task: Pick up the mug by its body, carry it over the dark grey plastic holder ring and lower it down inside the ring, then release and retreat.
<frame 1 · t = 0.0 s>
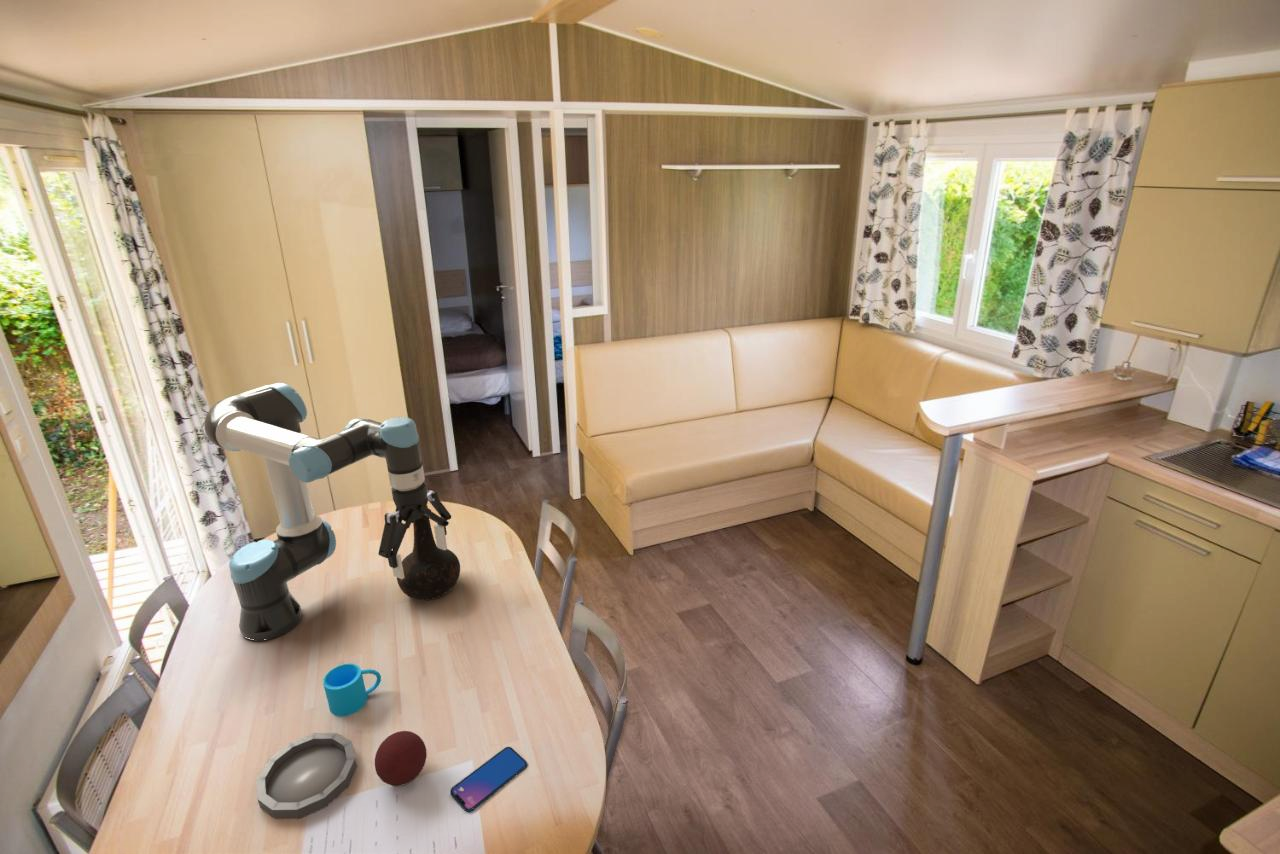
hand: (421, 562, 156), 28 cm above the table, fingers open, 13 cm apart
mug: (357, 700, 153), on the table
decorative ball: (404, 776, 134), on the table
smartphone: (490, 780, 133), on the table
glass bottle: (432, 590, 192), on the table
holder ring: (309, 777, 134), on the table
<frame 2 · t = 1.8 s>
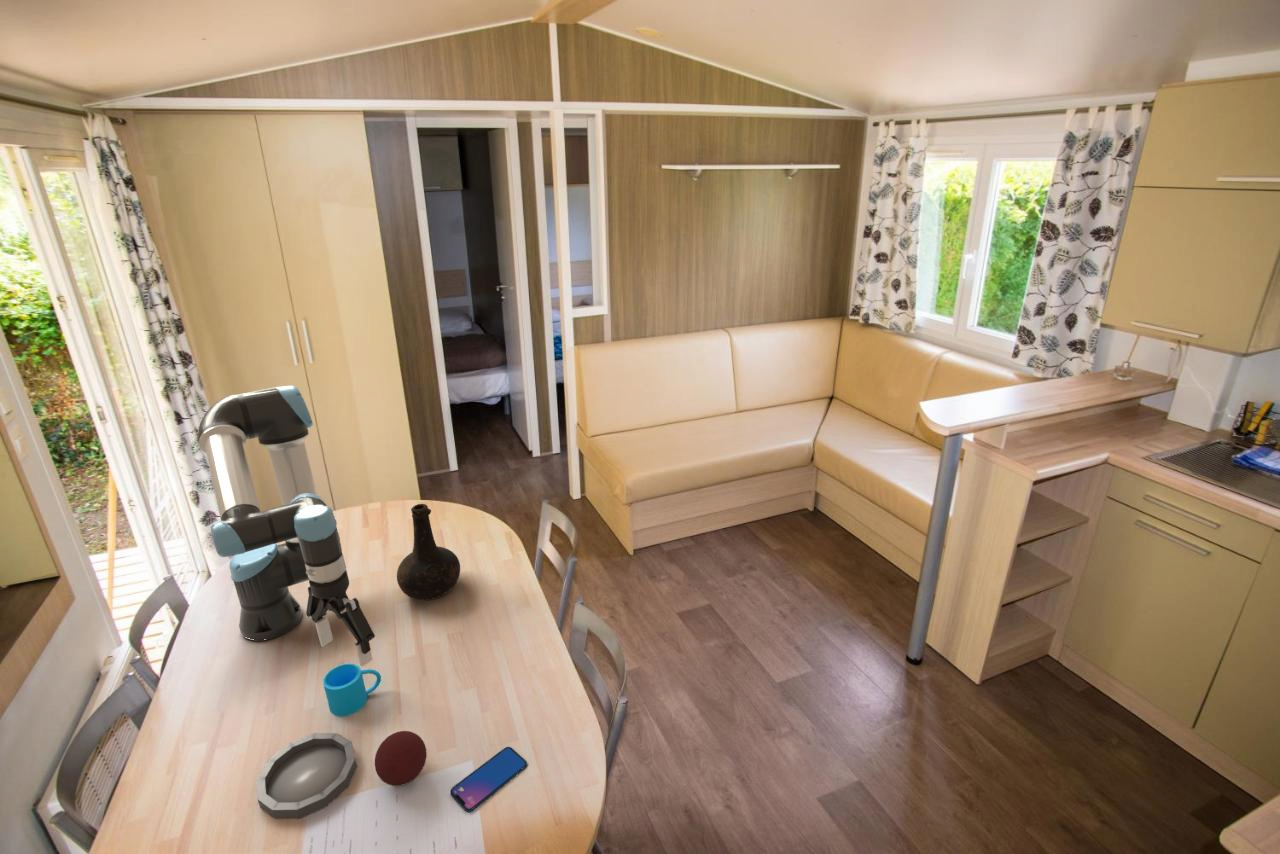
hand: (346, 652, 147), 14 cm above the table, fingers open, 13 cm apart
nothing on the table moved.
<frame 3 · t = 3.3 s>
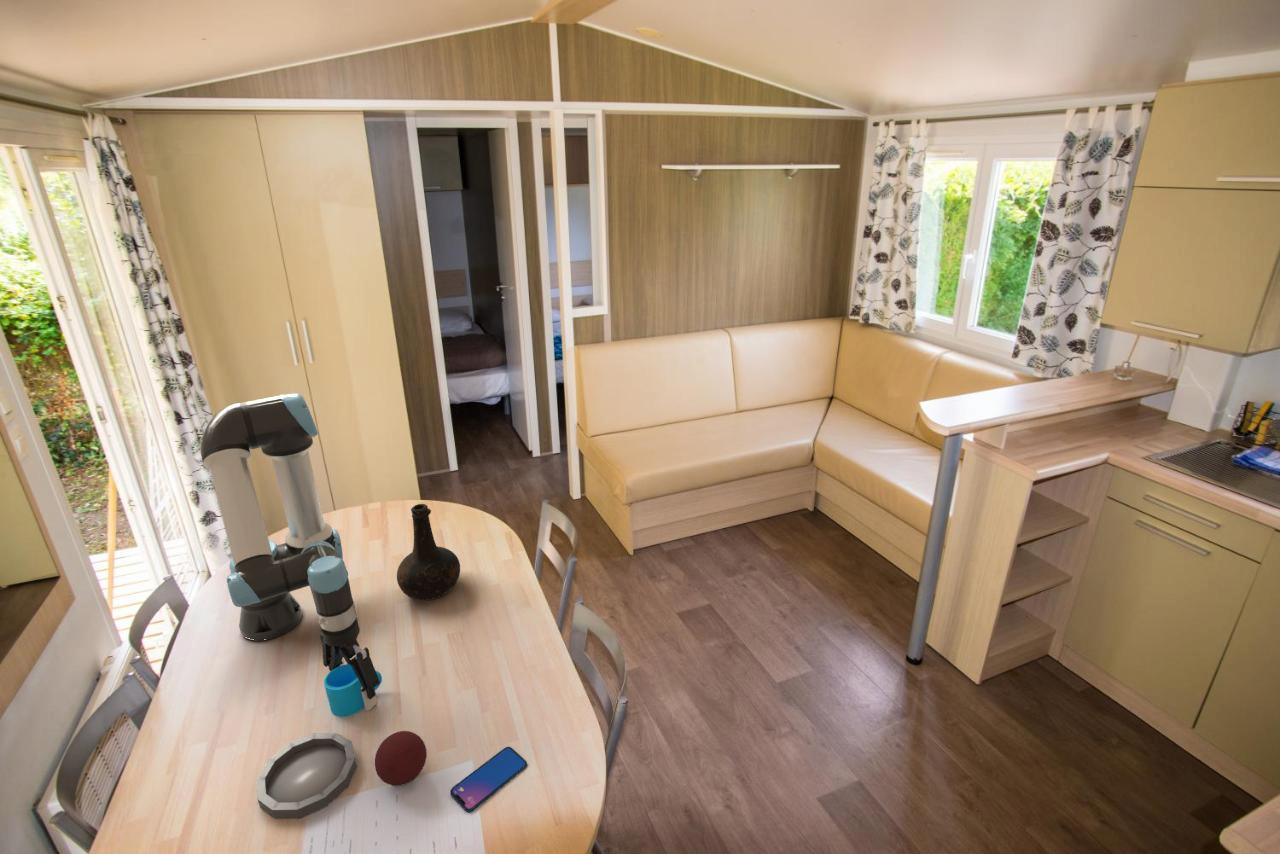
hand: (357, 698, 153), 0 cm above the table, fingers open, 9 cm apart
mug: (358, 700, 153), on the table, touching gripper
everything else where it was.
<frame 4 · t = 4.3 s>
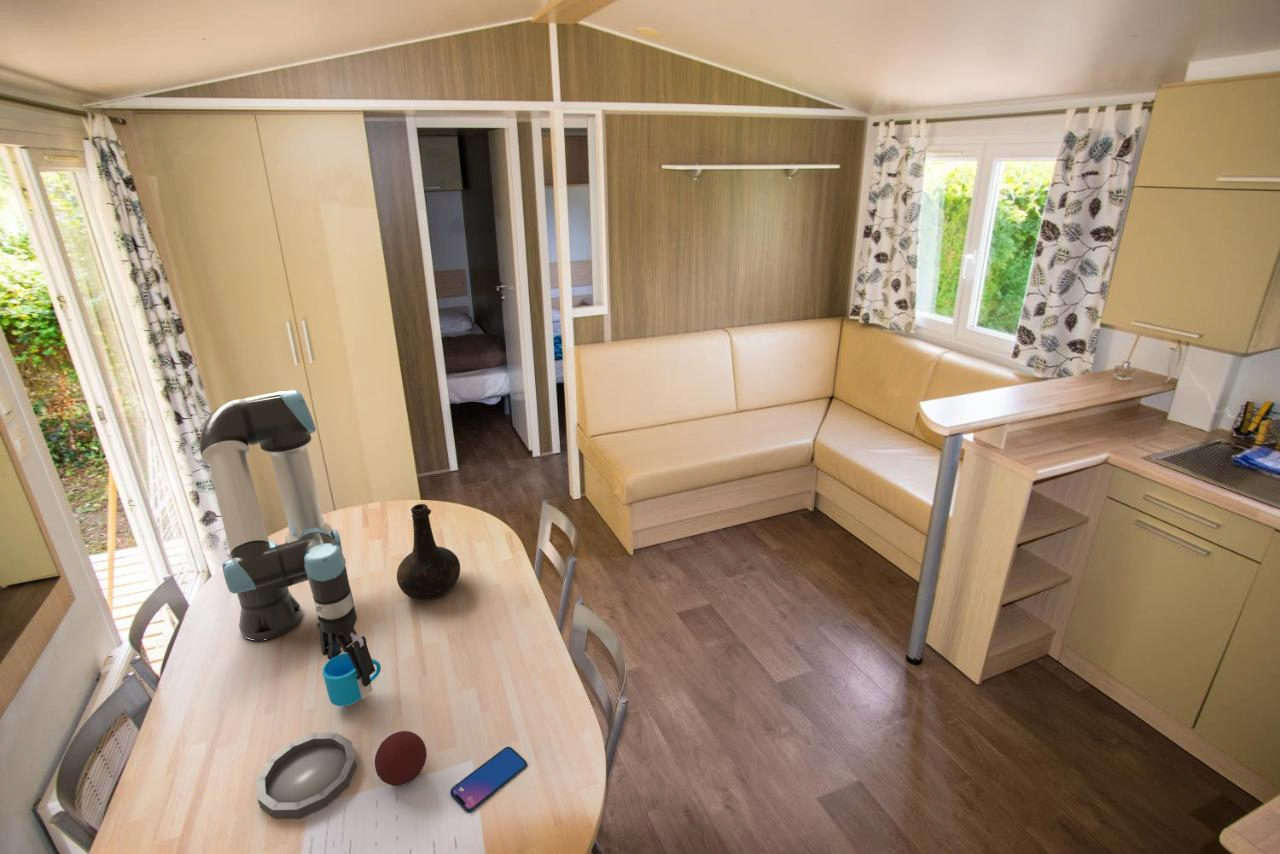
hand: (354, 686, 152), 3 cm above the table, fingers closed on mug, 8 cm apart
mug: (357, 689, 152), point 3 cm above the table, touching gripper
everything else where it was.
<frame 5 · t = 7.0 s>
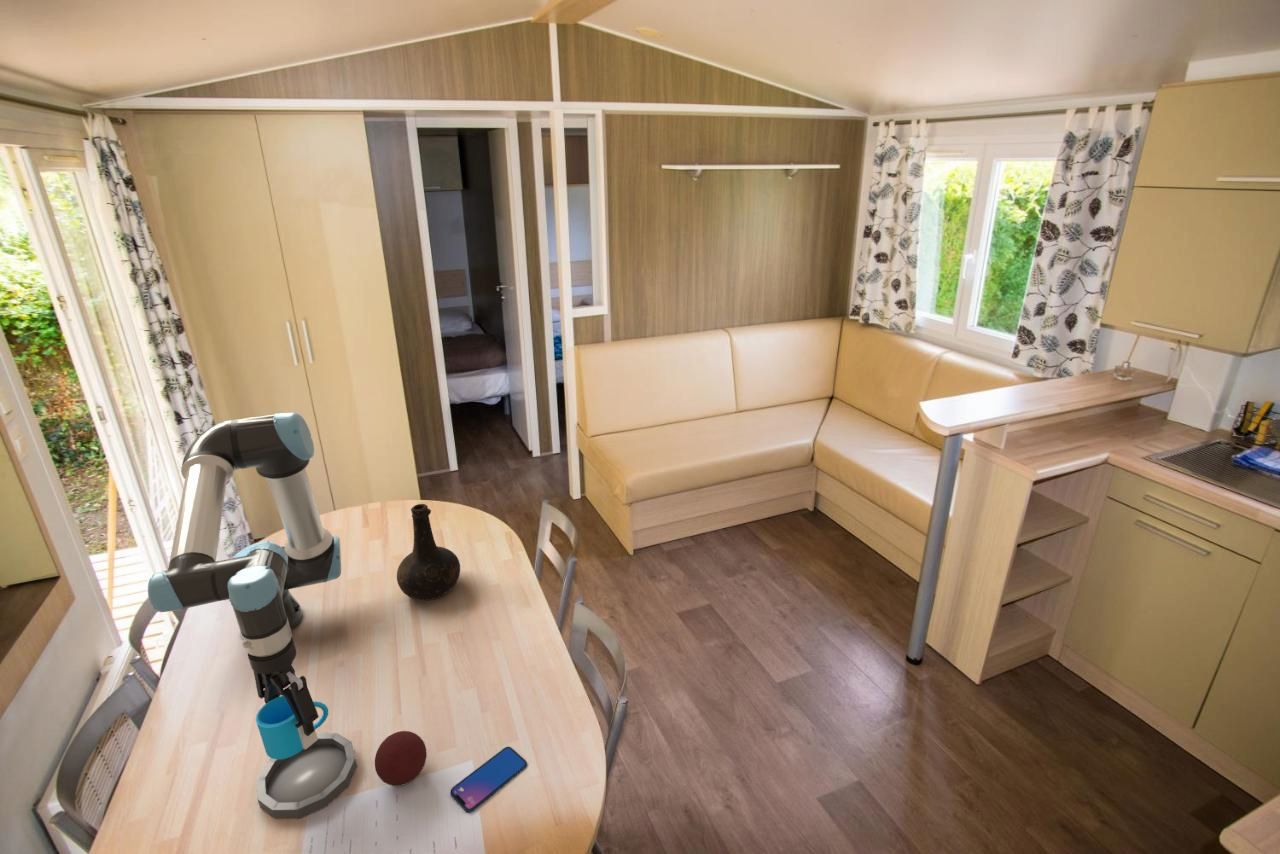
hand: (296, 735, 129), 12 cm above the table, fingers closed on mug, 8 cm apart
mug: (299, 738, 129), point 12 cm above the table, touching gripper
everything else where it was.
when the fingers open (2 cm above the table, at t = 9.5 s): mug drops 1 cm, resting on holder ring.
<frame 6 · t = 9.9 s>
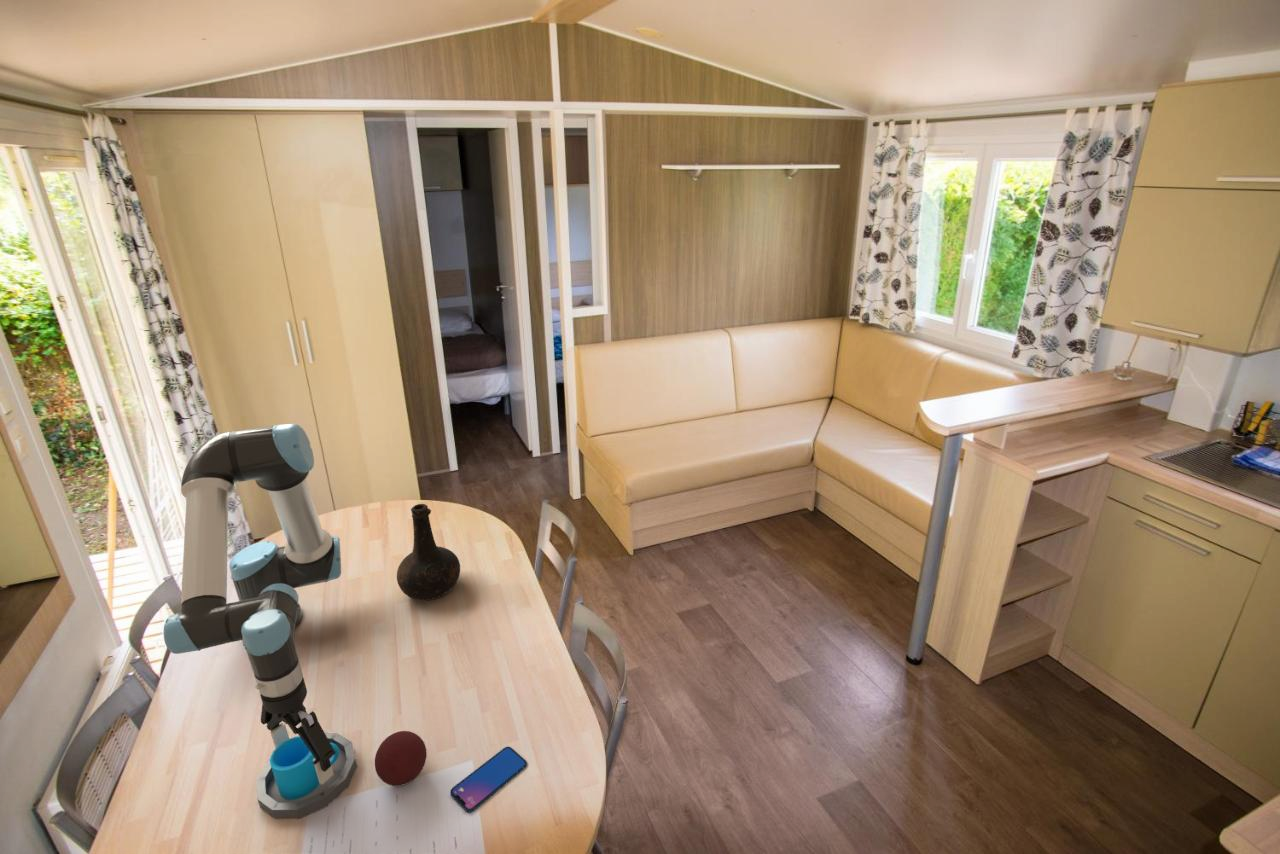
hand: (305, 764, 132), 4 cm above the table, fingers open, 13 cm apart
mug: (311, 777, 133), resting on holder ring
everything else where it was.
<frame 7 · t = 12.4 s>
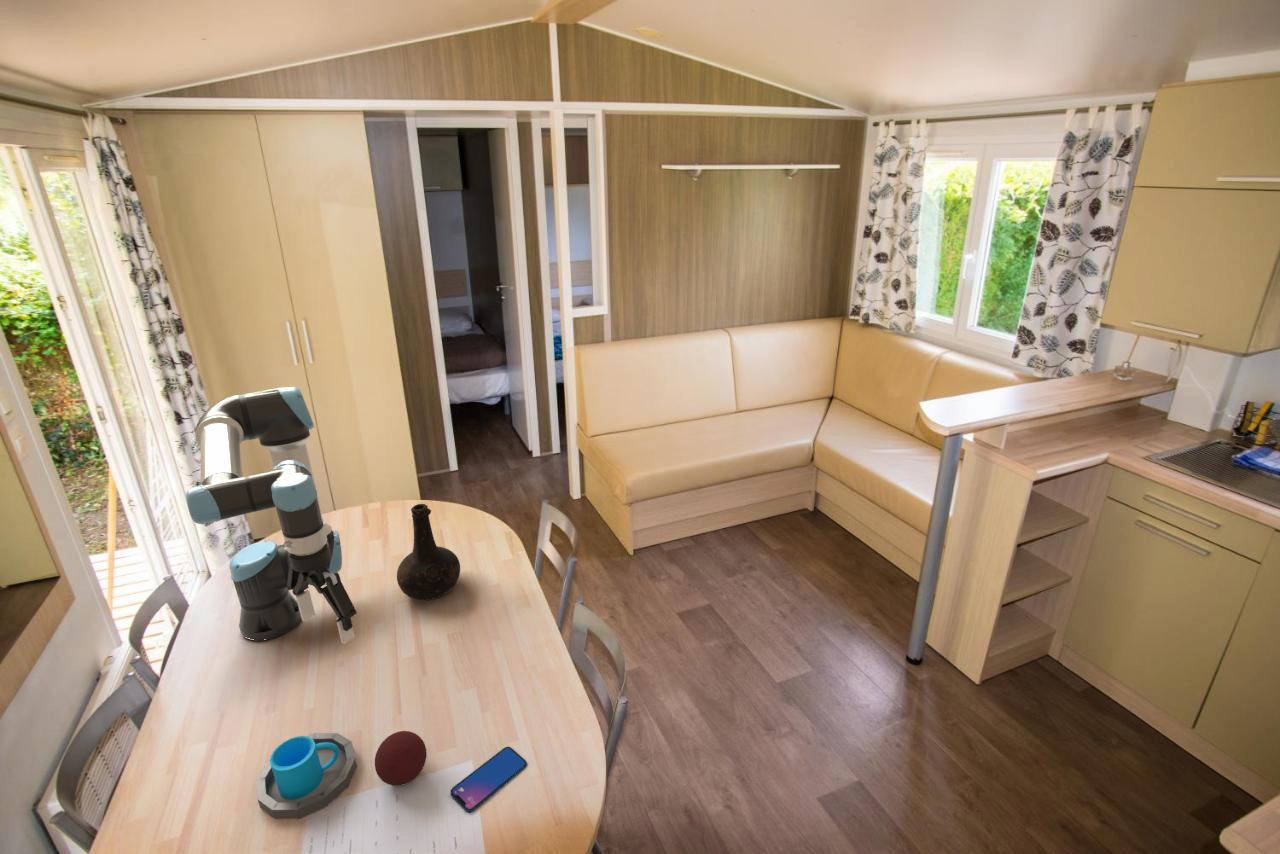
hand: (328, 628, 140), 24 cm above the table, fingers open, 13 cm apart
nothing on the table moved.
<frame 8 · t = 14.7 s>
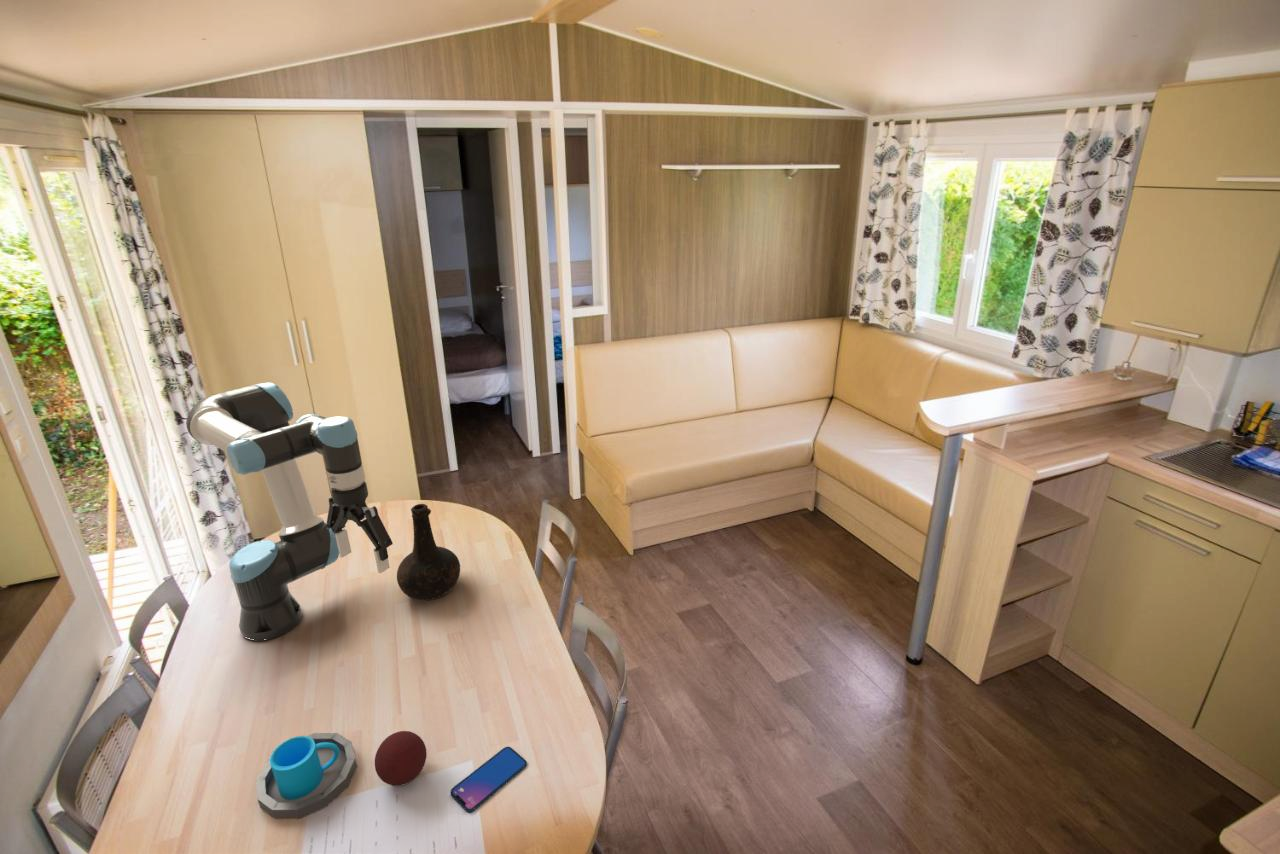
hand: (364, 562, 155), 29 cm above the table, fingers open, 13 cm apart
nothing on the table moved.
at the end: mug 0.9 cm from the holder ring (horizontally); mug resting on holder ring; mug tilted 0° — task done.
